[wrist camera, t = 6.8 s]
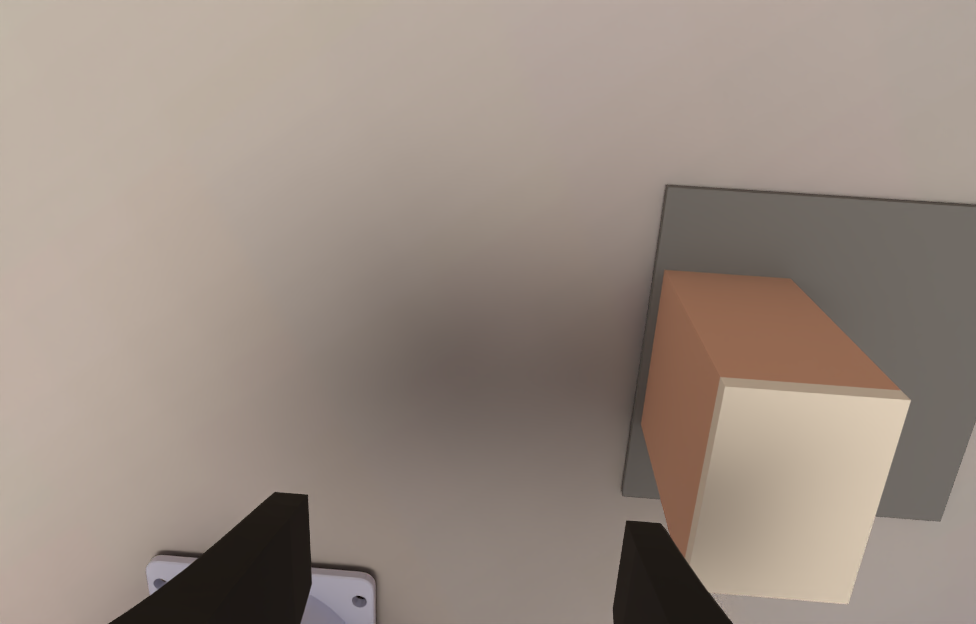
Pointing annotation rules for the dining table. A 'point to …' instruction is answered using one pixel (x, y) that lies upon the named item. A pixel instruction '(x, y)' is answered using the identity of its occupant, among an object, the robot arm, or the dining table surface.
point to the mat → (847, 308)
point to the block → (766, 436)
